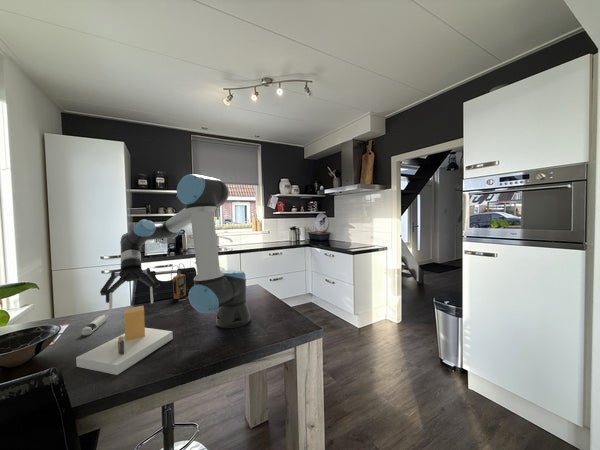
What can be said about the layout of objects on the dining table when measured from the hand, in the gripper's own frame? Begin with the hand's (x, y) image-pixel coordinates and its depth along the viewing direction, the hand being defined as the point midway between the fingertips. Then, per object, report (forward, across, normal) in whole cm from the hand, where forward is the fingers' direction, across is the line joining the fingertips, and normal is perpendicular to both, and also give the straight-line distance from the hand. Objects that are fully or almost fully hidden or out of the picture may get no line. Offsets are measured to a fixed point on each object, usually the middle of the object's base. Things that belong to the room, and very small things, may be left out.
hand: (132, 305), depth 96 cm
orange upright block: (+12, -1, -2) cm, 12 cm away
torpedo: (-5, +13, -24) cm, 28 cm away
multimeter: (-18, -25, -37) cm, 48 cm away
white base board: (+18, +1, 0) cm, 18 cm away
